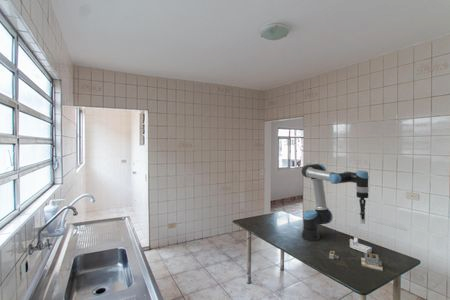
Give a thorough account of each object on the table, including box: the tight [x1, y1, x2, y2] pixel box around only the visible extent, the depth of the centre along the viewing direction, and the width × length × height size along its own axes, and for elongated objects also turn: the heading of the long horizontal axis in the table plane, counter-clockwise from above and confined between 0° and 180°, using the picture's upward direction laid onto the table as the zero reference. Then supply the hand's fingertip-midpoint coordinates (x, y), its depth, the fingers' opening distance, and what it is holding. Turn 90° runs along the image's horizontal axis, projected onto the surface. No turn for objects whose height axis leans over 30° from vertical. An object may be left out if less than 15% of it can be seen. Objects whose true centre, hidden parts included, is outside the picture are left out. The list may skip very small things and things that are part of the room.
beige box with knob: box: [328, 250, 336, 260], centre depth 176 cm, size 6×3×4 cm, turn 151°
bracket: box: [349, 236, 373, 254], centre depth 185 cm, size 13×7×8 cm, turn 32°
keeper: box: [360, 253, 384, 272], centre depth 163 cm, size 12×12×7 cm
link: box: [364, 252, 380, 267], centre depth 163 cm, size 8×8×5 cm
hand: (362, 220), depth 174 cm, fingers open, 13 cm apart
